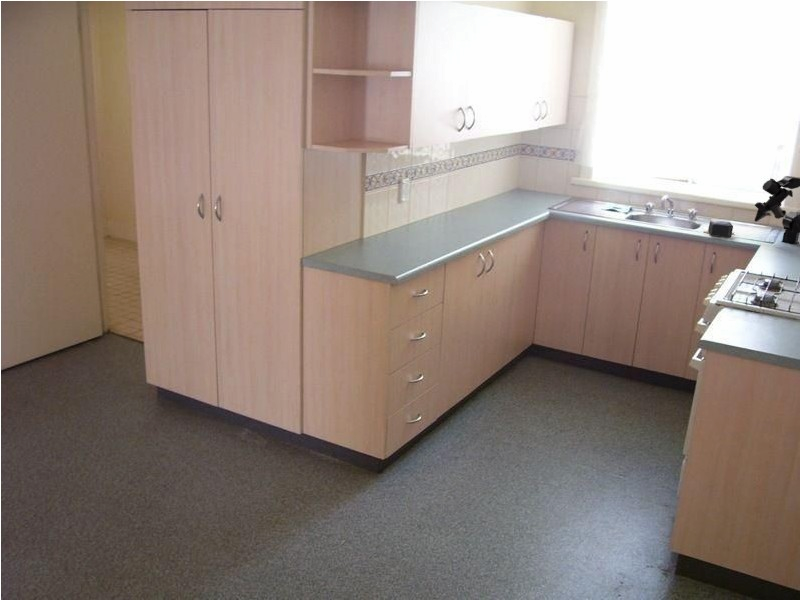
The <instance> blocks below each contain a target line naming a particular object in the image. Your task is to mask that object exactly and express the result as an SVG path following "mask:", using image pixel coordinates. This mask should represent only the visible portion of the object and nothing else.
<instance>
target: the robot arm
mask: <svg viewBox="0 0 800 600" xmlns="http://www.w3.org/2000/svg"><path fill="white" fill-rule="evenodd" d="M799 187H800V177H799V176H798V177H797V176H789V175H785V176H783V178H781V179H780V180H775V179H773V178H770V179H768V180H766V182H765V183H763V184H762V190H763V191H764V192H766V193H768V194H769V196H768V198H769V199H767V200H766V201H764V202H760V201H757V202H756V203H755V204H754V206H755V208H757V210H756V211H757V212H756V215H755V217H754V222H755V223H757V222H759V221H760V220H762V219H763V218H765V217H771V216H772V214H773V216H774V218H775V219H778V220H779V219H782V222H781V224H782V226H783V230H784V232H783V235H782V239H781V243H786V244H787V243H788V244H791V245H796V244H799V243H800V241H799V238H800V237H799V236H800V209H798V210H797V211H795V212H794V211H789V212H788V213H787V211H786V210H785V209H782V208H781V206H782V203H783V202H784V201H785V199H787V198H788V197H791V198H793V196H794V195H793V190H794V189H798V188H799ZM771 213H772V214H771Z"/></svg>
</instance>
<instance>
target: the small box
mask: <svg viewBox="0 0 800 600" xmlns="http://www.w3.org/2000/svg"><path fill="white" fill-rule="evenodd" d="M733 230H734V225H733V224H732V223H731V222H730V221H722V220H721V221H719V220H709V223H708V228H707V231H708V232H709V233H710V234H709V235H710V236H713V237H715V236H716V237H722V236H723V237H727V238H732V235H733V234H732V232H733Z"/></svg>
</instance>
